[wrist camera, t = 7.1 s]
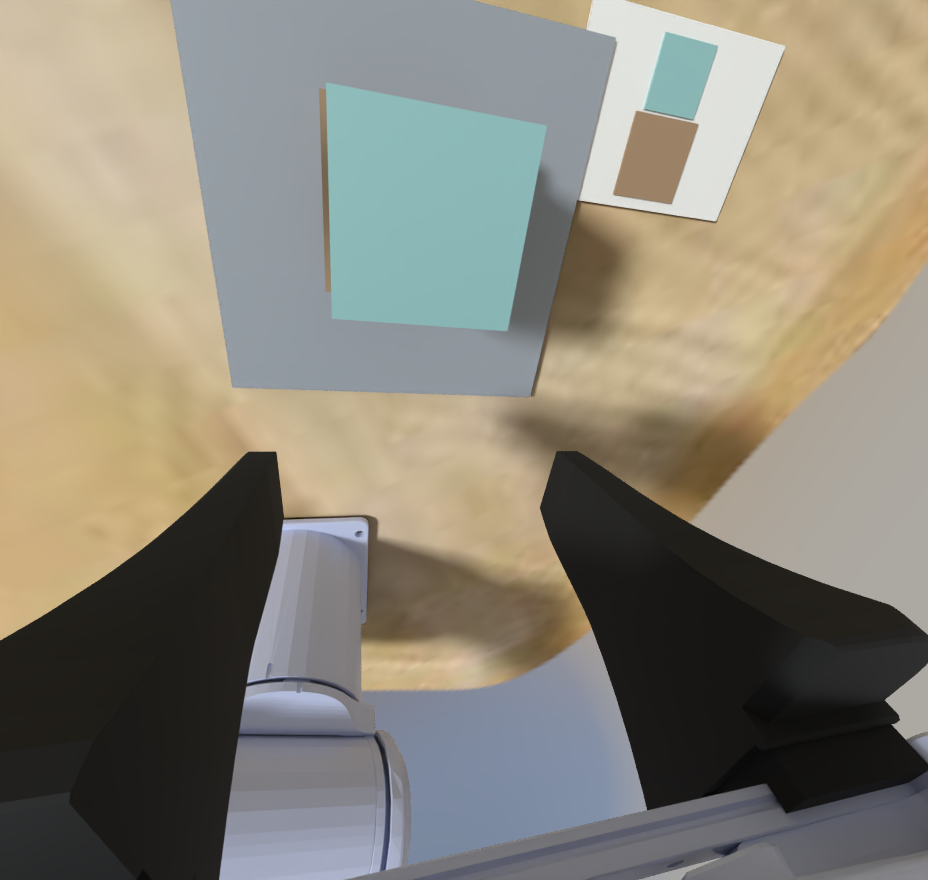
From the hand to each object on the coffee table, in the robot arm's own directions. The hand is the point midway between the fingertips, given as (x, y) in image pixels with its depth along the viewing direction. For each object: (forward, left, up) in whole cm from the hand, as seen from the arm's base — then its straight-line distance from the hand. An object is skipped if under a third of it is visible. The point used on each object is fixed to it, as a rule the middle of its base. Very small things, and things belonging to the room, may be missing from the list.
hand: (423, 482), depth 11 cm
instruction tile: (+10, -10, -10) cm, 17 cm away
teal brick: (+6, 0, -7) cm, 9 cm away
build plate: (+5, 0, -10) cm, 11 cm away
